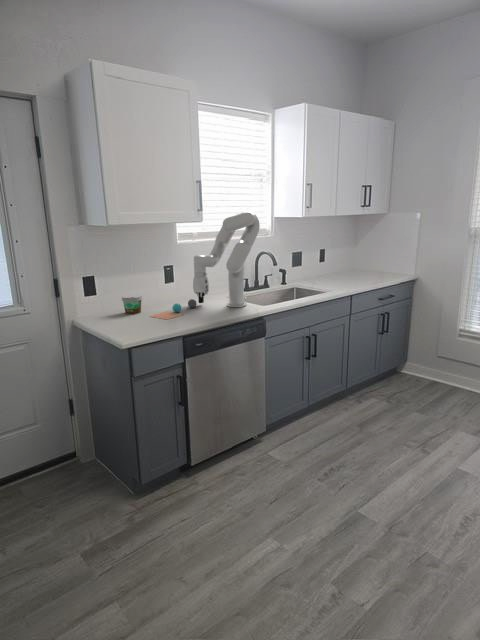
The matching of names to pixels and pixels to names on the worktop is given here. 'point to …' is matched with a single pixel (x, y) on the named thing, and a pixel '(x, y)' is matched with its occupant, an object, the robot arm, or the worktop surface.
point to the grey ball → (192, 303)
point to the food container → (132, 305)
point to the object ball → (176, 308)
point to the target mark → (166, 315)
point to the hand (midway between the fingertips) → (201, 302)
